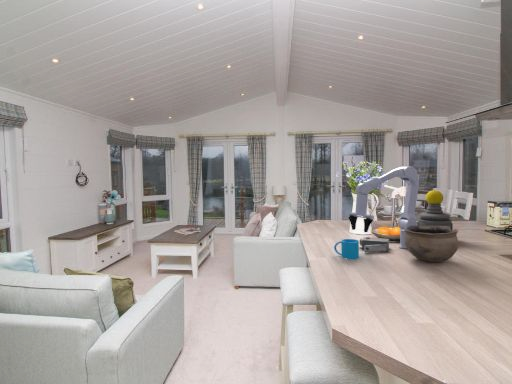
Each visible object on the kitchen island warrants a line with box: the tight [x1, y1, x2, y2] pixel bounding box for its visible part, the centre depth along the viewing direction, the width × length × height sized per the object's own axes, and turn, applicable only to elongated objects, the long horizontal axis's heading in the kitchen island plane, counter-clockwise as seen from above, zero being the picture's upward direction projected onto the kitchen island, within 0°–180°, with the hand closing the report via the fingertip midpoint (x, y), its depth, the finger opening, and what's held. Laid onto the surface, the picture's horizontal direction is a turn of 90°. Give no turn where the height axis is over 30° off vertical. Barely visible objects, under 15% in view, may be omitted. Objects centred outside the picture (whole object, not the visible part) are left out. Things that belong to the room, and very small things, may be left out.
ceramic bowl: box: [404, 225, 459, 263], centre depth 146 cm, size 22×22×15 cm
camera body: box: [359, 236, 390, 251], centre depth 171 cm, size 15×8×6 cm, turn 63°
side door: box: [363, 244, 389, 254], centre depth 163 cm, size 13×2×4 cm, turn 98°
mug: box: [333, 238, 360, 260], centre depth 156 cm, size 12×8×8 cm
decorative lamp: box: [417, 189, 454, 231], centre depth 186 cm, size 19×19×30 cm
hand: (359, 230), depth 170 cm, fingers open, 7 cm apart
